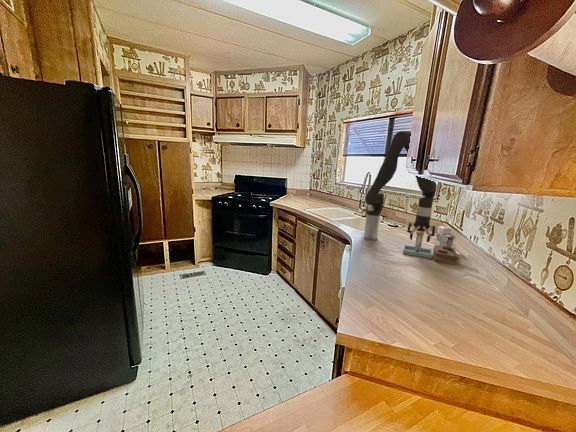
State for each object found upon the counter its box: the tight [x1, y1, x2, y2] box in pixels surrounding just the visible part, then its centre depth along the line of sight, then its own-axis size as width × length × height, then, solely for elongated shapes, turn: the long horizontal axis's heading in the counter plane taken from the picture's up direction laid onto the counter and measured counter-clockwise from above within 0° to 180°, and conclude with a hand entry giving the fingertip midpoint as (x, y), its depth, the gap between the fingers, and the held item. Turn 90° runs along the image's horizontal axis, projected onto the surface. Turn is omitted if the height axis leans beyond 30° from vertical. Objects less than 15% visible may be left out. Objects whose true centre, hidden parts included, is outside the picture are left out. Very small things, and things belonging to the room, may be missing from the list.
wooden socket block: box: [432, 244, 458, 266], centre depth 142 cm, size 16×10×5 cm, turn 153°
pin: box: [445, 234, 456, 250], centre depth 144 cm, size 4×4×13 cm
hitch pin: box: [414, 230, 425, 252], centre depth 147 cm, size 4×4×13 cm
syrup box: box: [434, 225, 453, 246], centre depth 158 cm, size 6×6×14 cm
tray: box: [402, 244, 434, 260], centre depth 149 cm, size 10×15×2 cm
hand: (419, 240), depth 147 cm, fingers open, 8 cm apart
